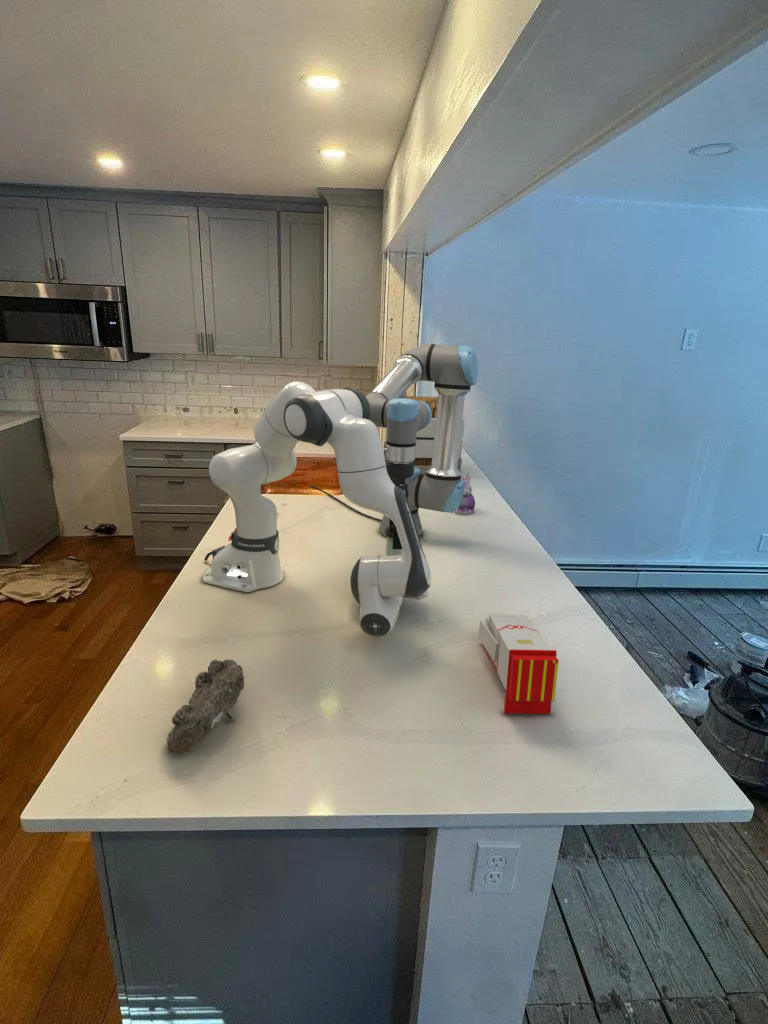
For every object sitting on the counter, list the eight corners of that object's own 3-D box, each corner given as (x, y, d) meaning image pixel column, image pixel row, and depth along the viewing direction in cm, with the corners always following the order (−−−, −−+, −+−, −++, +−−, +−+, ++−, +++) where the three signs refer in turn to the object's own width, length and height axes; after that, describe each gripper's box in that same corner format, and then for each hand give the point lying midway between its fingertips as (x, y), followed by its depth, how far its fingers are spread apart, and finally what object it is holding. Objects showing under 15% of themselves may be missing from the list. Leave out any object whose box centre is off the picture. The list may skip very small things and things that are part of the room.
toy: (524, 600, 137) (567, 656, 108) (520, 651, 140) (560, 720, 111) (474, 599, 137) (504, 655, 107) (471, 650, 140) (498, 719, 110)
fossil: (192, 660, 117) (244, 628, 112) (224, 691, 120) (276, 661, 115) (142, 746, 98) (202, 712, 93) (182, 779, 101) (242, 748, 96)
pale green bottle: (387, 588, 161) (390, 529, 155) (404, 591, 159) (407, 532, 153) (381, 595, 156) (384, 535, 150) (398, 599, 155) (402, 538, 149)
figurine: (461, 516, 219) (465, 479, 214) (447, 508, 227) (450, 472, 222) (481, 513, 223) (485, 477, 218) (466, 505, 231) (469, 470, 226)
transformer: (382, 463, 289) (386, 382, 275) (445, 464, 293) (451, 384, 279) (390, 482, 257) (394, 392, 243) (460, 483, 261) (468, 394, 247)
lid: (392, 540, 148) (392, 534, 148) (381, 532, 153) (381, 527, 152) (411, 537, 151) (411, 531, 150) (399, 529, 156) (400, 524, 155)
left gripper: (427, 587, 141) (432, 564, 154) (347, 578, 144) (359, 556, 157) (426, 609, 143) (431, 585, 156) (347, 600, 146) (358, 577, 159)
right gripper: (380, 451, 153) (376, 531, 161) (391, 470, 136) (387, 558, 144) (407, 451, 154) (402, 530, 162) (422, 470, 137) (416, 558, 145)
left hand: (394, 570), depth 157 cm, fingers closed on pale green bottle, 5 cm apart
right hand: (395, 543), depth 153 cm, fingers closed on lid, 6 cm apart
